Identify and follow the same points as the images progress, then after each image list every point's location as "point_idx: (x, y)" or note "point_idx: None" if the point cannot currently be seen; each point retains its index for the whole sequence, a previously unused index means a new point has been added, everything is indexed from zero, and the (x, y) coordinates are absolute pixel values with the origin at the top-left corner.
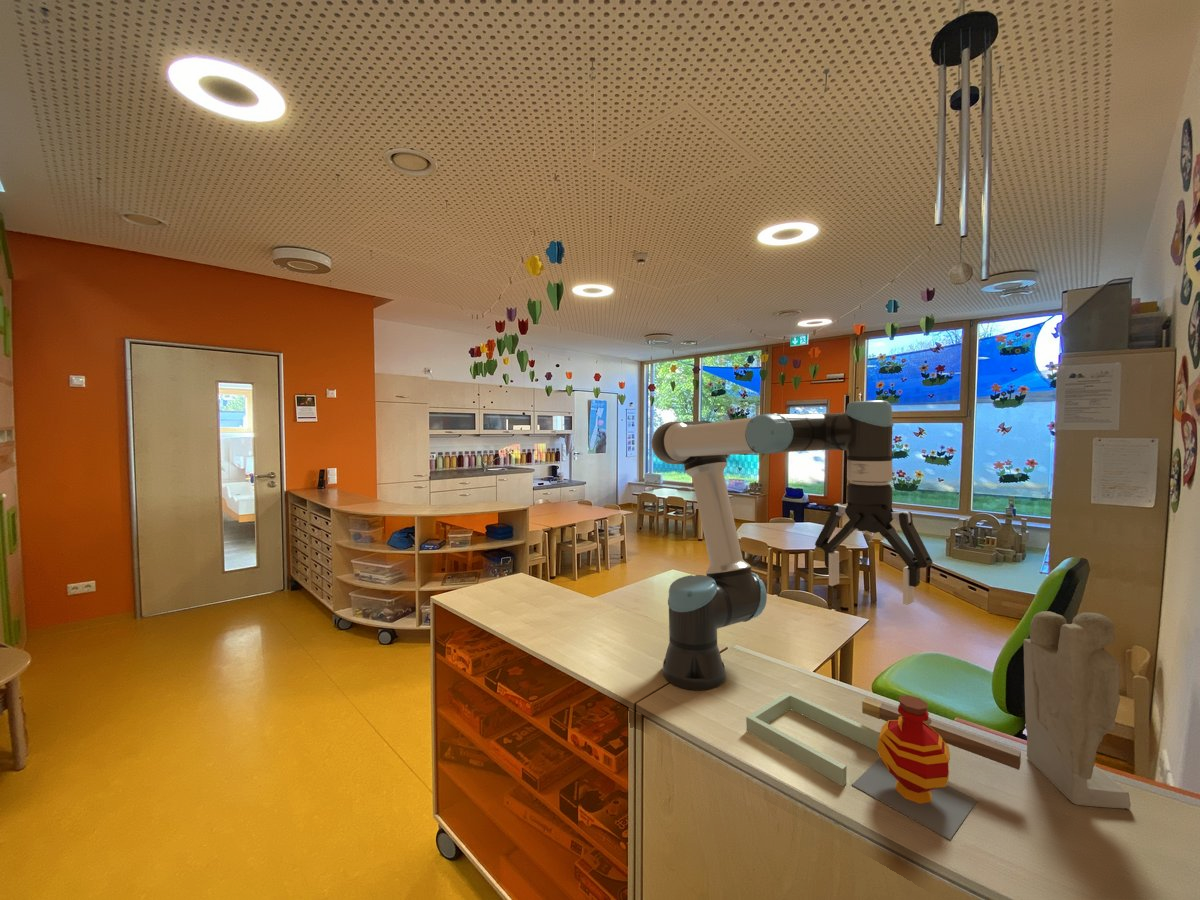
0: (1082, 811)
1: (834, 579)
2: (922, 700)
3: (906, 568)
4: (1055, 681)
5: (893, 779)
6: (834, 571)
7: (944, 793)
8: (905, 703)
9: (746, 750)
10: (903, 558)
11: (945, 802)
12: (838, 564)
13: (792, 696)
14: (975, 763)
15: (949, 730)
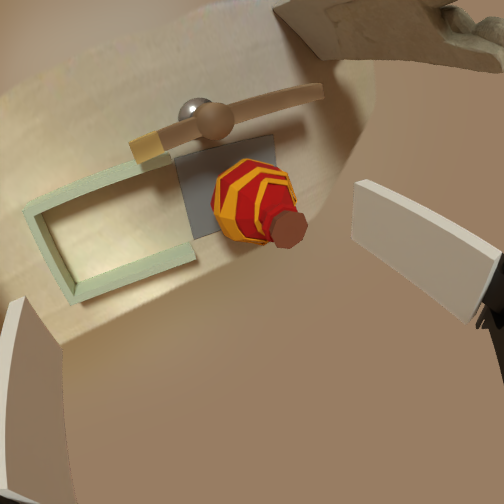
0: (327, 64)
1: (49, 358)
2: (296, 213)
3: (474, 313)
4: (406, 38)
5: (210, 188)
6: (49, 397)
7: (251, 156)
8: (285, 244)
9: (104, 309)
10: (501, 349)
11: None
12: (15, 399)
13: (36, 214)
14: (243, 66)
15: (257, 111)
